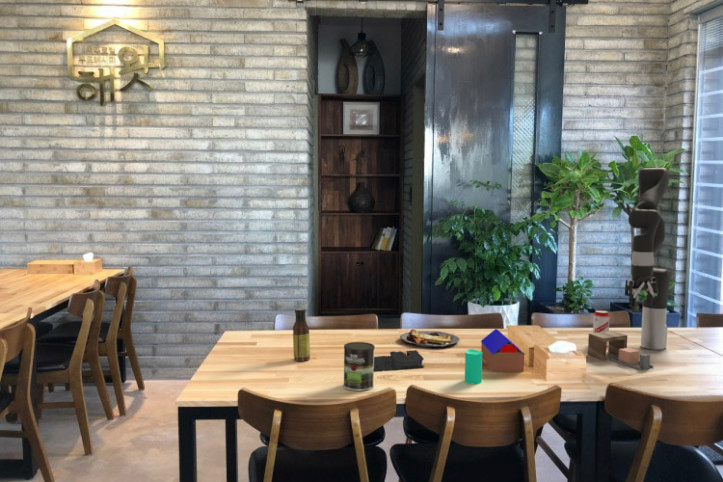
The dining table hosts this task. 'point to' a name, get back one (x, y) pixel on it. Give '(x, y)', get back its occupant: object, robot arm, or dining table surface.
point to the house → (501, 353)
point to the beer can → (601, 322)
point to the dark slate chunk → (398, 361)
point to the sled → (642, 365)
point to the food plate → (429, 338)
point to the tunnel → (605, 343)
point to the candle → (473, 366)
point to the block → (629, 356)
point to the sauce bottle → (301, 337)
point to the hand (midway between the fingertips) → (640, 306)
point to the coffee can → (359, 366)
